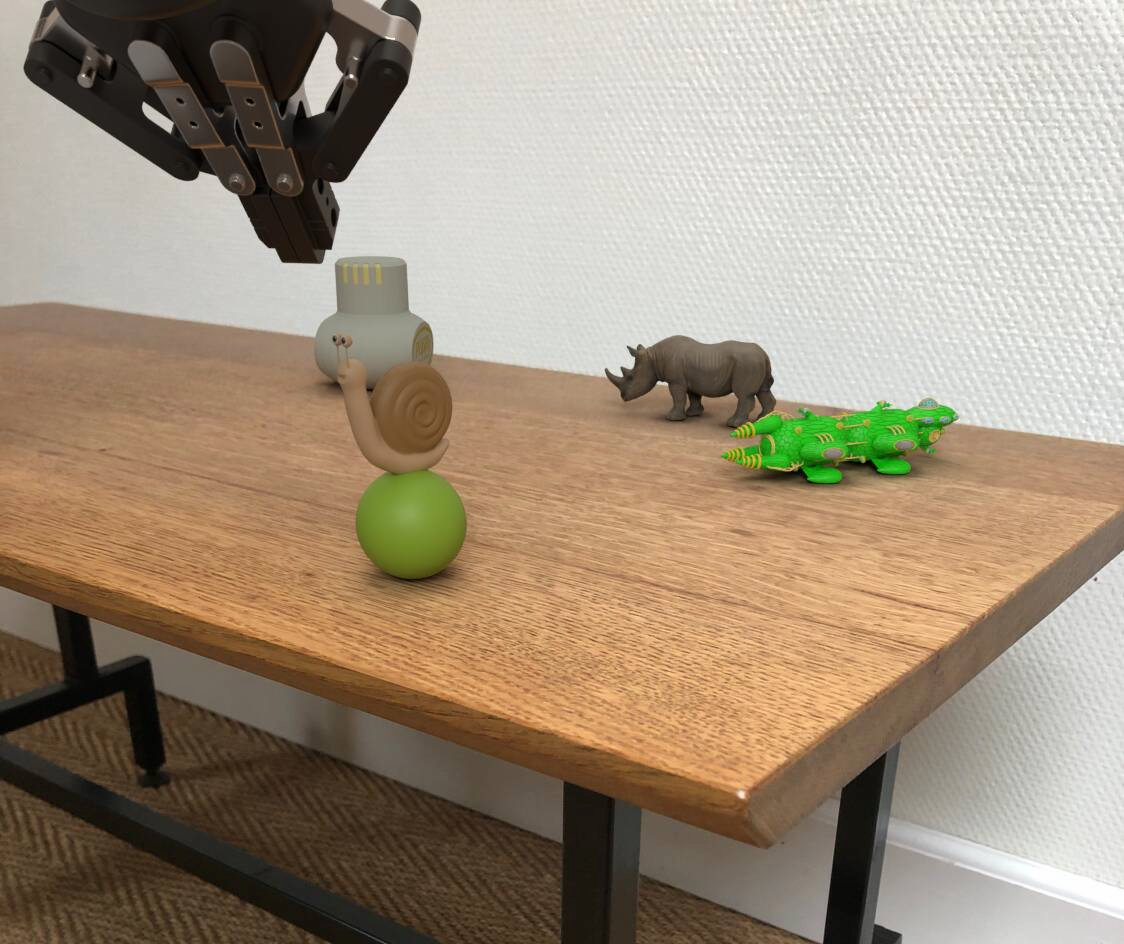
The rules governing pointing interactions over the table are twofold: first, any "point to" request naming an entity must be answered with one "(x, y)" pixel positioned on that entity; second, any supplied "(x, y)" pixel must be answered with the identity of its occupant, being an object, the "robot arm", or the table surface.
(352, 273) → the air freshener
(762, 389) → the rhino figurine
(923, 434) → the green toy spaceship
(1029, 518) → the table surface
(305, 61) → the robot arm
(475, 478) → the table surface
